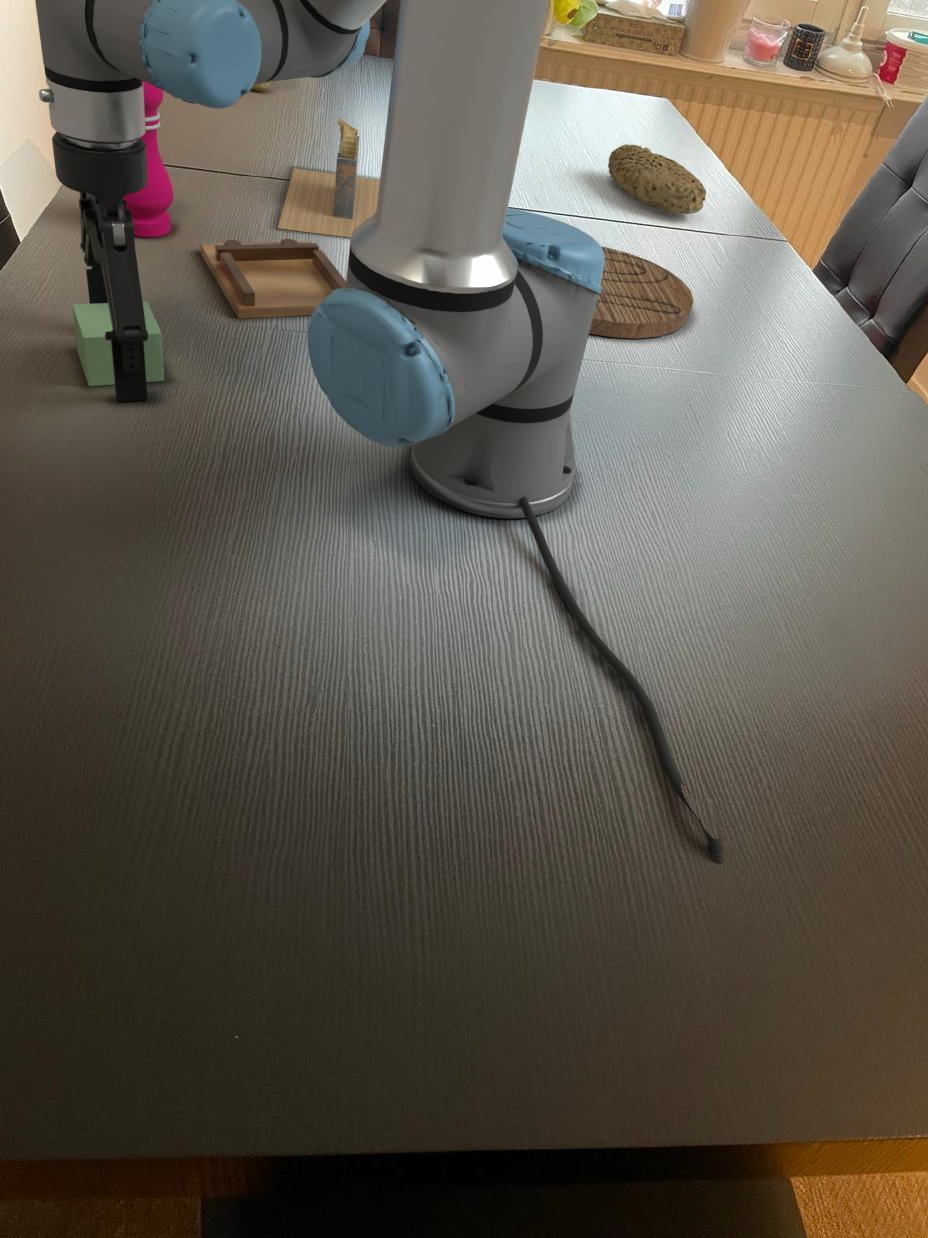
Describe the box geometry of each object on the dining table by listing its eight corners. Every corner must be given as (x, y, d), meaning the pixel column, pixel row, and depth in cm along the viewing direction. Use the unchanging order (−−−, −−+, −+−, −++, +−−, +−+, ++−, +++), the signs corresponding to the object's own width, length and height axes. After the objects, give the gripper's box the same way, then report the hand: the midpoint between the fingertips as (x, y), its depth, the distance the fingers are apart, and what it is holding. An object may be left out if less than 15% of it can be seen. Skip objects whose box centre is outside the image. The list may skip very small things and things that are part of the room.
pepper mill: (160, 244, 120) (149, 61, 107) (103, 231, 121) (86, 47, 108) (184, 225, 126) (177, 49, 113) (130, 213, 126) (117, 36, 113)
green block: (164, 381, 96) (161, 333, 93) (88, 386, 93) (83, 337, 90) (150, 347, 101) (146, 300, 97) (77, 352, 98) (71, 304, 95)
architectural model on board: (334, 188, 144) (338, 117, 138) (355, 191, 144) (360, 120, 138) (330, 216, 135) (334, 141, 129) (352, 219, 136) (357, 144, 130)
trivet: (710, 347, 120) (715, 333, 119) (510, 325, 117) (512, 310, 115) (665, 267, 139) (669, 253, 138) (491, 245, 135) (493, 232, 134)
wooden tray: (358, 312, 114) (360, 290, 112) (238, 318, 108) (238, 295, 107) (311, 250, 126) (311, 229, 124) (200, 253, 120) (199, 230, 118)
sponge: (594, 184, 167) (629, 199, 150) (610, 135, 164) (649, 145, 147) (662, 207, 171) (705, 225, 154) (680, 160, 167) (725, 172, 150)
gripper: (32, 87, 90) (60, 308, 103) (74, 188, 74) (100, 434, 87) (118, 91, 93) (134, 305, 106) (176, 189, 77) (185, 426, 90)
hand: (118, 364), depth 97 cm, fingers open, 13 cm apart
